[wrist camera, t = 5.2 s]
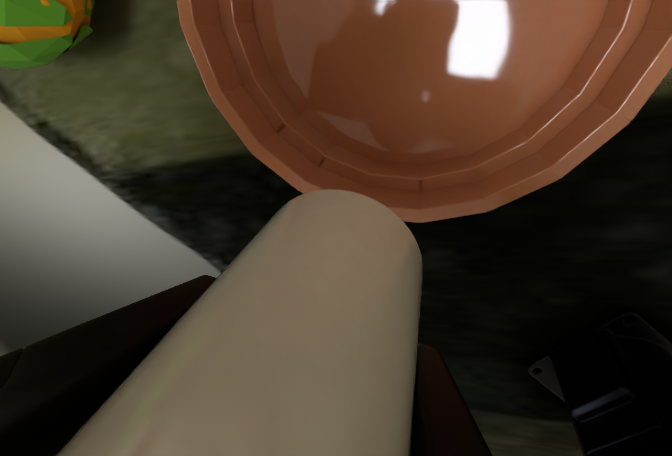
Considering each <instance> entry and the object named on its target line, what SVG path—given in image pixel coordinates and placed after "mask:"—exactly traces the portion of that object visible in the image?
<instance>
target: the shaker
mask: <svg viewBox="0 0 672 456" xmlns="http://www.w3.org/2000/svg"><path fill="white" fill-rule="evenodd" d="M422 274H423V265H422V257H421V253H420V250H419V247H418V244H417V242H416V240H415V238H414V236H413V235H412V233H411V231H410V230H409V228H408V227H407V226H406V225H405V223H404V222H403V221H402V220H401V219H400V218H399V217H398V216H397V215H396V214H395V213H394V212H393V211H391V210H390V209H389V208H387V207H386V206H385V205H383V204H381V203H379V202H378V201H376V200H374V199H372V198H369V197H367V196H365V195H362V194H358V193H355V192H351V191H345V190H331V189H328V190H318V191H313V192H309V193H306V194H303V195H300V196H298V197H296V198H294V199H292V200H291V201H289V202H288V203H286V204H285V205H284V206H283V207H281V208H280V209H279V210H278V212H277V213H276V214H275V215H274V216H273V217H272V218H271V219H270V220H269V221H268V223H267V224H266V225H265V226H264V227H263V228H262V229H261V230H260V231H259V232H258V234H257V235H256V236H255V237H254V238H253V239H252V240H251V241H250V242H249V243H248V245H247V246H246V247H245V248H244V249H243V250H242V251H241V252H240V253H239V254H238V256H237V257H236V258H235V259H234V260H233V261H232V262H231V263H230V264H229V266H228V267H227V268H226V269H225V270H224V271H223V272H222V273H221V274H220V275H219V277H218V278H217V279H216V280H215V281H214V282H213V283H212V284H211V285H210V286H209V288H208V289H207V290H206V291H205V292H204V293H203V294H202V295H201V296H200V298H199V299H198V300H197V301H196V302H195V303H194V304H193V305H192V306H191V307H190V309H189V310H188V311H187V312H186V313H185V314H184V315H183V316H182V317H181V318H180V320H179V321H178V322H177V323H176V324H175V325H174V326H173V327H172V328H171V329H170V331H169V332H168V333H167V334H166V335H165V336H164V337H163V338H162V339H161V341H160V342H159V343H158V344H157V345H156V346H155V347H154V348H153V349H152V350H151V352H150V353H149V354H148V355H147V356H146V357H145V358H144V359H143V360H142V361H141V363H140V364H139V365H138V366H137V367H136V368H135V369H134V370H133V371H132V373H131V374H130V375H129V376H128V377H127V378H126V379H125V380H124V381H123V382H122V384H121V385H120V386H119V387H118V388H117V389H116V390H115V391H114V392H113V393H112V395H111V396H110V397H109V398H108V399H107V400H106V401H105V402H104V403H103V404H102V406H101V407H100V408H99V409H98V410H97V411H96V412H95V413H94V414H93V416H92V417H91V418H90V419H89V420H88V421H87V422H86V423H85V424H84V425H83V427H82V428H81V429H80V430H79V431H78V432H77V433H76V434H75V435H74V436H73V438H72V439H71V440H70V441H69V442H68V443H67V444H66V445H65V446H64V448H63V449H62V450H61V451H60V452H59V453H58V454H57V455H56V456H410V447H411V433H412V418H413V404H414V390H415V375H416V361H417V347H418V332H419V318H420V304H421V289H422Z"/></svg>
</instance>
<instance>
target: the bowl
mask: <svg viewBox="0 0 672 456" xmlns="http://www.w3.org/2000/svg"><path fill="white" fill-rule="evenodd" d="M176 1H177V7H178V13H179V20H180V26H181V27H182V31H183V34H184V36H185V38H186V41H187V43H188V46H189V48H190V51H191V53H192V55H193V58H194V60H195V63H196V65H197V67H198V70H199V72H200V75H201V77H202V80H203V82H204V84H205V87H206V89H207V92H208V94H209V96H210V98H211V100H212V101H213V103H214V104H215V105H216V107H217V108H218V109H219V111H220V112H221V113H222V115H223V116H224V118H225V119H226V120H227V122H228V123H229V124H230V126H231V127H232V128H233V130H234V131H235V132H236V134H237V135H238V136H239V138H240V139H241V140H242V142H243V143H244V144H245V146H246V147H247V148H248V150H249V151H250V152H252V154H253V155H254V156H255V157H256V158H258V159H259V160H260V161H261V162H263V163H264V164H265V165H266V166H268V167H269V168H270V169H272V170H273V171H274V172H275V173H277V174H278V175H279V176H280V177H282V178H283V179H284V180H285V181H287V182H288V183H289V184H290V185H292V186H293V187H294V188H296V189H297V190H298V191H299V192H302V193H303V194H306V193H309V192H313V191H318V190H328V189H331V190H345V191H351V192H355V193H358V194H362V195H365V196H367V197H369V198H372V199H374V200H376V201H378V202H379V203H381V204H383V205H385V206H386V207H387V208H389V209H390V210H391V211H393V212H394V213H395V214H396V215H397V216H398V217H399V218H400V219H401V220H402V221H407V222H415V223H420V222H421V223H424V222H430V221H436V220H442V219H448V218H454V217H460V216H466V215H472V214H478V213H485V212H488V211H491V210H494V209H496V208H498V207H500V206H502V205H505V204H507V203H509V202H511V201H513V200H516V199H518V198H520V197H522V196H524V195H526V194H529V193H531V192H533V191H535V190H537V189H540V188H542V187H544V186H546V185H548V184H551V183H553V182H555V181H557V180H559V179H561V178H562V177H564V176H565V175H566V174H567V173H568V172H570V171H571V170H572V169H573V168H575V167H576V166H577V165H578V164H580V163H581V162H582V161H583V160H585V159H586V158H587V157H588V156H589V155H591V154H592V153H593V152H594V151H596V150H597V149H598V148H599V147H601V146H602V145H603V144H604V143H606V142H607V141H608V140H609V139H610V138H612V137H613V136H614V135H615V134H617V133H618V132H619V131H620V130H622V129H623V128H624V127H625V126H627V125H628V124H629V123H630V121H632V120H633V119H634V117H635V116H636V115H637V113H638V112H639V111H640V109H641V108H642V107H643V105H644V104H645V103H646V101H647V100H648V99H649V97H650V96H651V95H652V93H653V92H654V91H655V89H656V88H657V87H658V85H659V84H660V83H661V81H662V80H663V79H664V77H665V76H666V75H667V73H668V72H669V71H670V69H671V68H672V0H176Z"/></svg>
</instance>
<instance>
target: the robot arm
mask: <svg viewBox="0 0 672 456" xmlns="http://www.w3.org/2000/svg"><path fill="white" fill-rule="evenodd" d="M216 279H217V278H214V277H212V276H208V275H203V276H200V277H198V278H195V279H193V280H190V281H188V282H185V283H183V284H180V285H178V286H175V287H173V288H170V289H168V290H165V291H163V292H160V293H158V294H155V295H153V296H150V297H148V298H145V299H143V300H140V301H138V302H135V303H132V304H130V305H127V306H125V307H122V308H120V309H117V310H115V311H112V312H110V313H107V314H105V315H103V316H100V317H97V318H95V319H92V320H90V321H87V322H85V323H82V324H80V325H77V326H75V327H72V328H70V329H67V330H65V331H62V332H60V333H57V334H55V335H53V336H50V337H47V338H45V339H43V340H40V341H37V342H35V343H32V344H30V345H27V346H26V347H25V348H24V349H23V348H20V349H17V350H14V351H12V352H9V353H7V354H4V355H2V356H0V456H56V455H57V454H58V453H59V452H60V451H61V450H62V449H63V448H64V446H65V445H66V444H67V443H68V442H69V441H70V440H71V439H72V438H73V436H74V435H75V434H76V433H77V432H78V431H79V430H80V429H81V428H82V427H83V425H84V424H85V423H86V422H87V421H88V420H89V419H90V418H91V417H92V416H93V414H94V413H95V412H96V411H97V410H98V409H99V408H100V407H101V406H102V404H103V403H104V402H105V401H106V400H107V399H108V398H109V397H110V396H111V395H112V393H113V392H114V391H115V390H116V389H117V388H118V387H119V386H120V385H121V384H122V382H123V381H124V380H125V379H126V378H127V377H128V376H129V375H130V374H131V373H132V371H133V370H134V369H135V368H136V367H137V366H138V365H139V364H140V363H141V361H142V360H143V359H144V358H145V357H146V356H147V355H148V354H149V353H150V352H151V350H152V349H153V348H154V347H155V346H156V345H157V344H158V343H159V342H160V341H161V339H162V338H163V337H164V336H165V335H166V334H167V333H168V332H169V331H170V329H171V328H172V327H173V326H174V325H175V324H176V323H177V322H178V321H179V320H180V318H181V317H182V316H183V315H184V314H185V313H186V312H187V311H188V310H189V309H190V307H191V306H192V305H193V304H194V303H195V302H196V301H197V300H198V299H199V298H200V296H201V295H202V294H203V293H204V292H205V291H206V290H207V289H208V288H209V286H210V285H211V284H212V283H213V282H214V281H215V280H216ZM628 317H631V318H630V319H628V320H624V319H626V318H628ZM534 368H538V369H534ZM527 369H528V372H529V374H530V375H531V376H533V377H534V378H535V379H536V380H538V381H539V382H540V383H541V384H543V385H544V386H545V387H547V388H548V389H549V390H550V391H552V392H553V393H554V394H555V395H557V396H558V397H559V398H560V399H562V400H563V401H564V402H565V403H566V406H567V408H568V411H569V414H570V417H571V420H572V423H573V426H574V429H575V432H576V434H577V437H578V440H579V443H580V446H581V449H582V452H583V455H584V456H672V342H671V341H670V340H669V339H668V338H667V337H666V336H664V335H663V334H662V333H661V332H660V331H659V330H657V329H656V328H655V327H654V326H653V325H652V324H650V323H649V322H648V321H647V320H646V319H645V318H643V317H642V316H641V315H640V314H639V313H638V312H636V311H635V310H633V309H630V308H625V309H621V310H619V311H617V312H615V313H614V314H612V315H610V316H608V317H607V318H605V319H603V320H601V321H599V322H598V323H596V324H594V325H592V326H591V327H589V328H587V329H585V330H583V331H582V332H580V333H578V334H576V335H575V336H573V337H571V338H569V339H567V340H566V341H564V342H562V343H560V344H559V345H557V346H555V347H553V348H551V349H550V350H548V351H546V352H544V353H543V354H541V355H539V356H537V357H535V358H534V359H532V360H530V361H529V362H528V363H527ZM410 456H492V454H491V452H490V450H489V448H488V446H487V444H486V442H485V440H484V438H483V436H482V434H481V432H480V430H479V428H478V426H477V424H476V422H475V420H474V418H473V416H472V414H471V412H470V410H469V408H468V407H467V405H466V403H465V401H464V399H463V397H462V395H461V393H460V391H459V389H458V387H457V385H456V383H455V381H454V379H453V377H452V375H451V373H450V371H449V369H448V367H447V365H446V363H445V361H444V359H443V357H442V355H441V353H440V351H439V350H438V349H437V348H434V347H431V346H428V345H425V344H418V347H417V361H416V375H415V390H414V404H413V418H412V433H411V447H410Z"/></svg>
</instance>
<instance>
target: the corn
mask: <svg viewBox="0 0 672 456" xmlns="http://www.w3.org/2000/svg"><path fill="white" fill-rule="evenodd" d="M94 4H95V1H94V0H0V66H2V67H8V68H14V69H24V68H29V67H35V66H41V65H46V64H49V63H50V62H51V61H52V60H54V59H55V58H56V57H57V56H59V55H60V54H62V53H64V52H67V51H69V50H70V49H71V48H73V47H74V46H75V45H76V44H78V43H79V42H80V41H81V40H83V39H84V38H85V37H86V36H88V35H89V34H90V33H91V32H93V31H94V30H93V29H91V28H90V18H91V12H92V9H93V7H94Z"/></svg>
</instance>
